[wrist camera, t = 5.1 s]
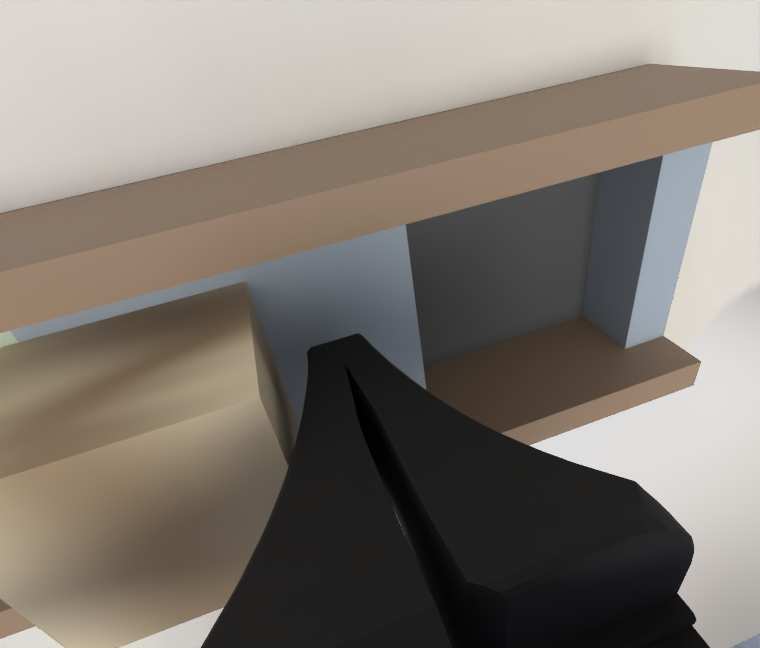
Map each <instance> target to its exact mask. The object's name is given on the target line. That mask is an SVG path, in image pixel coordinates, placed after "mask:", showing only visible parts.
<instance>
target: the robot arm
mask: <svg viewBox="0 0 760 648" xmlns="http://www.w3.org/2000/svg"><path fill="white" fill-rule="evenodd" d="M307 358H308V376H307V387H306V394H305V401H304V407H303V413H302V418H301V422H300V426H299V431H298V435H297V439H296V443H295V447H294V451H293V454H292V458H291V461H290V464H289V467H288V470H287V473H286V476H285V479H284V482H283V485H282V487H281V490H280V492H279V495H278V498H277V500H276V503H275V505H274V508H273V510H272V513H271V515H270V518H269V520H268V522H267V525H266V527H265V529H264V531H263V534H262V536H261V538H260V540H259V542H258V544H257V546H256V548H255V550H254V552H253V554H252V556H251V558H250V560H249V562H248V564H247V566H246V568H245V570H244V572H243V574H242V576H241V578H240V580H239V582H238V584H237V586H236V588H235V589H234V591H233V593H232V595H231V597H230V598H229V600H228V602H227V603H226V605H225V607H224V609H223V610H222V612H221V614H220V616H219V617H218V619H217V621H216V622H215V624H214V626H213V628H212V629H211V631H210V633H209V635H208V636H207V638H206V640H205V641H204V643H203V645H202V646H201V648H710V647H709V646H708V645H707V643H706V642H705V641H704V640H703V638H702V637H701V636H700V635H699V634H698V633H697V631H696V630H695V629H694V628H693V626H692V625H693V624H694V623H695V622H696V618H695V615H694V613H693V612H692V611H691V609H690V608H689V607H688V606H687V605H686V603H685V602H684V601H683V600H682V598H681V597H680V596H679V595H678V594H677V592H678V590H679V588H680V586H681V584H682V582H683V580H684V577H685V575H686V573H687V571H688V569H689V567H690V565H691V562H692V558H693V554H694V544H693V540H692V537H691V536H690V534H689V533H688V532H687V531H686V530H685V529H684V528H683V527H682V526H681V525H680V524H679V523H678V522H677V521H676V520H675V519H674V517H673V516H672V515H671V514H670V513H669V512H668V511H667V510H666V509H665V508H664V507H663V506H662V505H661V504H660V503H659V502H658V501H657V500H655V499H654V498H653V497H652V496H651V495H650V494H648V493H647V492H646V491H645V490H644V489H643V488H642V487H641V486H640V485H639V484H637V483H636V482H635V481H632V480H629V479H625V478H622V477H619V476H615V475H612V474H609V473H606V472H602V471H599V470H595V469H593V468H589V467H586V466H583V465H579V464H576V463H573V462H570V461H567V460H565V459H562V458H559V457H557V456H554V455H551V454H549V453H546V452H543V451H540V450H538V449H535V448H533V447H531V446H529V445H526V444H524V443H522V442H520V441H517V440H515V439H513V438H511V437H508V436H506V435H504V434H501V433H499V432H497V431H495V430H493V429H491V428H489V427H487V426H485V425H483V424H482V423H480V422H478V421H476V420H474V419H472V418H470V417H469V416H467V415H465V414H463V413H462V412H460V411H458V410H456V409H455V408H453V407H451V406H450V405H448V404H447V403H445V402H444V401H442V400H440V399H439V398H437V397H436V396H434V395H433V394H432V393H430V392H429V391H427V390H426V389H424V388H423V387H422V386H420V385H419V384H417V383H416V382H415V381H413V380H412V379H411V378H410V377H408V376H407V375H406V374H404V373H403V372H402V371H401V370H399V369H398V368H397V367H396V366H394V365H393V364H392V363H391V362H390V361H389V360H387V359H386V358H385V357H384V356H383V355H382V354H381V353H380V352H379V351H378V350H376V349H375V348H374V347H373V346H372V345H371V344H370V343H369V342H368V341H367V340H366V338H365V337H364V336H362V335H361V334H359V333H357V334H354V335H350V336H347V337H344V338H340V339H337V340H334V341H330V342H327V343H324V344H320V345H317V346H313V347H310V349H309V350H308V352H307ZM392 506H393V507H392ZM395 513H396V514H395ZM396 515H397V516H396ZM397 517H398V518H397ZM398 520H399V521H398ZM399 522H400V523H399ZM400 524H401V526H400ZM401 527H402V528H401ZM402 529H403V530H402ZM403 532H404V533H403ZM404 534H405V535H404ZM731 648H760V634H758V635H756V636H754V637H752V638H750V639H748V640H746V641H744V642H742V643H740V644H738V645H735V646H733V647H731Z"/></svg>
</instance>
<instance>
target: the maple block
mask: <svg viewBox="0 0 760 648" xmlns="http://www.w3.org/2000/svg"><path fill="white" fill-rule="evenodd" d="M298 431H299V427H298V424H297V421H296V418H295V416H294V413H293V410H292V408H291V405H290V402H289V399H288V397H287V394H286V391H285V388H284V386H283V383H282V380H281V377H280V375H279V372H278V369H277V366H276V364H275V361H274V358H273V355H272V353H271V350H270V347H269V344H268V342H267V339H266V336H265V333H264V331H263V328H262V325H261V322H260V320H259V317H258V314H257V312H256V309H255V306H254V303H253V301H252V298H251V295H250V292H249V290H248V287H247V284H246V281H244V282H240V283H236V284H233V285H229V286H225V287H222V288H218V289H214V290H210V291H207V292H203V293H199V294H196V295H192V296H188V297H185V298H181V299H177V300H174V301H170V302H166V303H163V304H159V305H155V306H152V307H148V308H144V309H141V310H137V311H133V312H130V313H126V314H122V315H119V316H115V317H111V318H107V319H104V320H100V321H96V322H93V323H89V324H85V325H82V326H78V327H74V328H71V329H67V330H63V331H60V332H56V333H52V334H49V335H45V336H41V337H38V338H34V339H30V340H27V341H23V342H19V343H16V344H12V345H8V346H5V347H1V349H0V599H1V600H3V601H4V602H5V603H6V604H8V605H9V606H10V607H12V608H13V609H14V610H16V611H17V612H18V613H20V614H21V615H22V616H24V617H25V618H26V619H28V620H29V621H30V622H32V623H33V624H34V625H35V626H37V627H38V628H39V629H41V630H42V631H43V632H45V633H46V634H47V635H49V636H50V637H51V638H53V639H54V640H55V641H57V642H58V643H59V644H61V645H62V646H63V647H64V648H119V647H121V646H124V645H126V644H129V643H132V642H134V641H137V640H139V639H142V638H145V637H147V636H150V635H153V634H155V633H158V632H160V631H163V630H166V629H168V628H171V627H173V626H176V625H179V624H181V623H184V622H186V621H189V620H192V619H194V618H197V617H199V616H202V615H205V614H207V613H210V612H212V611H215V610H218V609H220V608H223V607H225V605H226V603H227V602H228V600H229V598H230V597H231V595H232V593H233V591H234V589H235V588H236V586H237V584H238V582H239V580H240V578H241V576H242V574H243V572H244V570H245V568H246V566H247V564H248V562H249V560H250V558H251V556H252V554H253V552H254V550H255V548H256V546H257V544H258V542H259V540H260V538H261V536H262V534H263V531H264V529H265V527H266V525H267V522H268V520H269V518H270V515H271V513H272V510H273V508H274V505H275V503H276V500H277V498H278V495H279V492H280V490H281V487H282V485H283V482H284V479H285V476H286V473H287V470H288V467H289V464H290V461H291V458H292V454H293V451H294V447H295V443H296V439H297V435H298Z"/></svg>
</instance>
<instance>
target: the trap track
mask: <svg viewBox="0 0 760 648" xmlns="http://www.w3.org/2000/svg"><path fill="white" fill-rule="evenodd" d="M759 129H760V72H754V71H741V70H727V69H713V68H699V67H686V66H672V65H658V64H648V65H644V66H639V67H635V68H631V69H626V70H622V71H618V72H613V73H609V74H605V75H600V76H596V77H592V78H587V79H583V80H579V81H574V82H570V83H566V84H561V85H557V86H553V87H548V88H544V89H540V90H535V91H531V92H527V93H522V94H518V95H514V96H509V97H505V98H501V99H496V100H492V101H488V102H483V103H479V104H474V105H470V106H466V107H461V108H457V109H453V110H448V111H444V112H440V113H435V114H431V115H427V116H422V117H418V118H414V119H409V120H405V121H401V122H396V123H392V124H388V125H383V126H379V127H375V128H370V129H366V130H362V131H357V132H353V133H349V134H344V135H340V136H336V137H331V138H327V139H323V140H318V141H314V142H310V143H305V144H301V145H296V146H292V147H288V148H283V149H279V150H275V151H270V152H266V153H262V154H257V155H253V156H249V157H244V158H240V159H236V160H231V161H227V162H223V163H218V164H214V165H210V166H205V167H201V168H197V169H192V170H188V171H184V172H179V173H175V174H171V175H166V176H162V177H158V178H153V179H149V180H145V181H140V182H136V183H132V184H127V185H123V186H118V187H114V188H110V189H105V190H101V191H97V192H92V193H88V194H84V195H79V196H75V197H71V198H66V199H62V200H58V201H53V202H49V203H45V204H40V205H36V206H32V207H27V208H23V209H19V210H14V211H10V212H6V213H1V214H0V349H1V347H5V346H8V345H12V344H16V343H19V342H23V341H27V340H30V339H34V338H38V337H41V336H45V335H49V334H52V333H56V332H60V331H63V330H67V329H71V328H74V327H78V326H82V325H85V324H89V323H93V322H96V321H100V320H104V319H107V318H111V317H115V316H119V315H122V314H126V313H130V312H133V311H137V310H141V309H144V308H148V307H152V306H155V305H159V304H163V303H166V302H170V301H174V300H177V299H181V298H185V297H188V296H192V295H196V294H199V293H203V292H207V291H210V290H214V289H218V288H222V287H225V286H229V285H233V284H236V283H240V282H244V281H246V284H247V287H248V290H249V292H250V295H251V298H252V301H253V303H254V306H255V309H256V312H257V314H258V317H259V320H260V322H261V325H262V328H263V331H264V333H265V336H266V339H267V342H268V344H269V347H270V350H271V353H272V355H273V358H274V361H275V364H276V366H277V369H278V372H279V375H280V377H281V380H282V383H283V386H284V388H285V391H286V394H287V397H288V399H289V402H290V405H291V408H292V410H293V413H294V416H295V418H296V421H297V424H298V427H299V426H300V422H301V418H302V413H303V407H304V401H305V394H306V387H307V376H308V358H307V352H308V350H309V349H310V347H313V346H317V345H320V344H324V343H327V342H330V341H334V340H337V339H340V338H344V337H347V336H350V335H354V334H357V333H359V334H361V335H362V336H364V337H365V338H366V340H367V341H368V342H369V343H370V344H371V345H372V346H373V347H374V348H375V349H376V350H378V351H379V352H380V353H381V354H382V355H383V356H384V357H385V358H386V359H387V360H389V361H390V362H391V363H392V364H393V365H394V366H396V367H397V368H398V369H399V370H401V371H402V372H403V373H404V374H406V375H407V376H408V377H410V378H411V379H412V380H413V381H415V382H416V383H417V384H419V385H420V386H422V387H423V388H424V389H426V390H427V391H429V392H430V393H432V394H433V395H434V396H436V397H437V398H439V399H440V400H442V401H444V402H445V403H447V404H448V405H450V406H451V407H453V408H455V409H456V410H458V411H460V412H462V413H463V414H465V415H467V416H469V417H470V418H472V419H474V420H476V421H478V422H480V423H482V424H483V425H485V426H487V427H489V428H491V429H493V430H495V431H497V432H499V433H501V434H504V435H506V436H508V437H511V438H513V439H515V440H517V441H520V442H522V443H524V444H526V445H531V444H534V443H537V442H540V441H542V440H545V439H547V438H550V437H553V436H556V435H559V434H561V433H564V432H566V431H570V430H572V429H575V428H578V427H580V426H583V425H586V424H588V423H591V422H594V421H597V420H600V419H602V418H605V417H608V416H611V415H613V414H616V413H618V412H621V411H624V410H627V409H630V408H632V407H635V406H638V405H640V404H643V403H646V402H649V401H652V400H654V399H657V398H660V397H662V396H665V395H668V394H671V393H673V392H676V391H679V390H682V389H684V388H687V387H690V386H692V385H694V382H695V379H696V376H697V373H698V370H699V367H700V364H701V361H699V360H698V359H696V358H695V357H694V356H692V355H691V354H689V353H688V352H686V351H685V350H683V349H682V348H680V347H679V346H677V345H676V344H674V343H673V342H671V341H670V340H668V339H667V338H666V337H664V336H663V335H664V331H665V327H666V323H667V319H668V315H669V311H670V307H671V303H672V299H673V295H674V291H675V287H676V283H677V279H678V276H679V272H680V268H681V264H682V260H683V256H684V252H685V248H686V244H687V240H688V236H689V232H690V228H691V224H692V220H693V217H694V213H695V209H696V205H697V201H698V197H699V193H700V189H701V185H702V181H703V177H704V173H705V169H706V165H707V161H708V157H709V154H710V150H711V146H712V142H714V141H718V140H722V139H726V138H729V137H733V136H737V135H740V134H744V133H748V132H752V131H755V130H759ZM34 626H35V625H34V624H33V623H32V622H30V621H29V620H28V619H26V618H25V617H24V616H22V615H21V614H20V613H18V612H17V611H16V610H14V609H13V608H12V607H10V606H9V605H8V604H6V603H5V602H4V601H3V600H1V599H0V639H1V638H4V637H7V636H9V635H12V634H15V633H18V632H20V631H23V630H26V629H28V628H31V627H34Z"/></svg>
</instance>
